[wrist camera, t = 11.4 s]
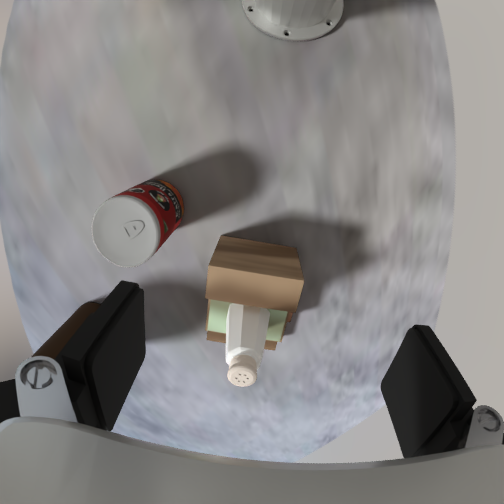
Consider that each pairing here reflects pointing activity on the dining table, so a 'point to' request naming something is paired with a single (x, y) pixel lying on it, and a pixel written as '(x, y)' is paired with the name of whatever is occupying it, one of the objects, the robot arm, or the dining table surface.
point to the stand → (252, 284)
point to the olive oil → (66, 331)
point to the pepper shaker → (245, 342)
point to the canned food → (137, 222)
